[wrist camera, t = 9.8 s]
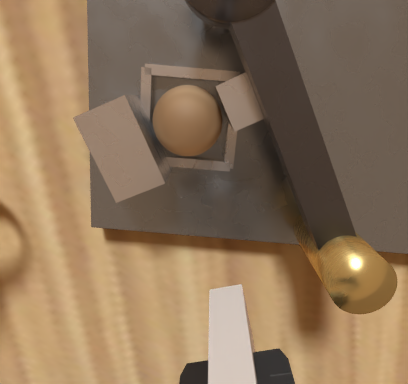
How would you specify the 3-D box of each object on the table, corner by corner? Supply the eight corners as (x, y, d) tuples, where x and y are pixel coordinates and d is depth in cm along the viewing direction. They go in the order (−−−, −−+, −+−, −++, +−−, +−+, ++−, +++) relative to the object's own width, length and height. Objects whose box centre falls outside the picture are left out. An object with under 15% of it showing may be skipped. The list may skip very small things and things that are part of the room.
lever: (286, 259, 22) (318, 330, 16) (164, -33, 17) (135, -112, 11) (358, 232, 21) (424, 294, 15) (252, -80, 17) (279, -194, 10)
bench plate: (439, 245, 25) (508, 290, 19) (100, 216, 25) (67, 253, 19) (564, -148, 18) (729, -261, 12) (96, -189, 18) (43, -322, 12)
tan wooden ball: (218, 152, 21) (219, 165, 17) (157, 147, 21) (145, 159, 17) (224, 88, 20) (227, 87, 16) (159, 83, 20) (147, 80, 16)
